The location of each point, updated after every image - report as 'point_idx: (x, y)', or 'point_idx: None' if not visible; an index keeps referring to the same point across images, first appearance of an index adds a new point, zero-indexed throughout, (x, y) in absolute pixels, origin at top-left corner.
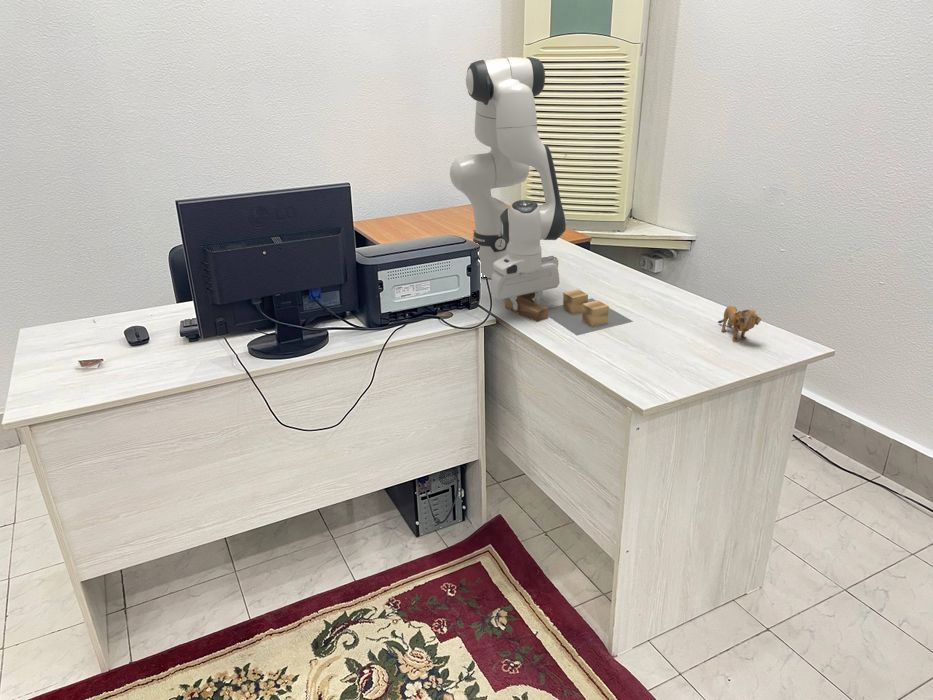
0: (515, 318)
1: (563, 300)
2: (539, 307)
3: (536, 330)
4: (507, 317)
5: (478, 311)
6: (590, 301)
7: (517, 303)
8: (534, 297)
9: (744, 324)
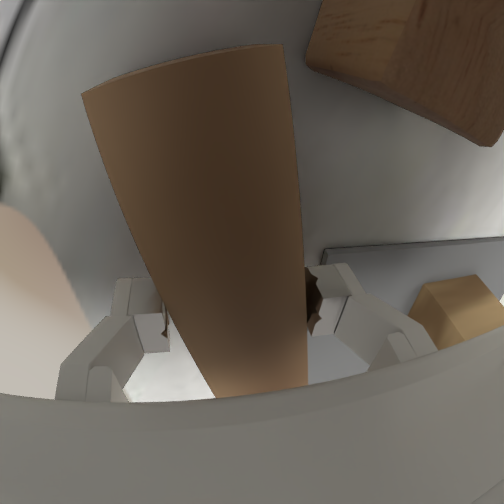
0: (126, 277)
1: (447, 319)
2: (278, 383)
3: (178, 397)
4: (78, 243)
5: None
6: None
7: (148, 337)
8: (354, 305)
9: None
